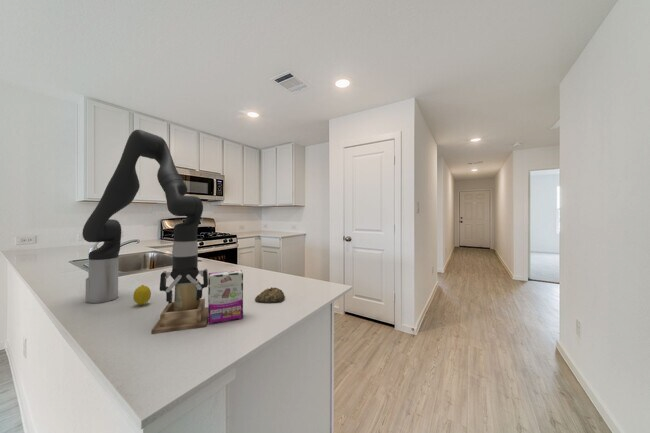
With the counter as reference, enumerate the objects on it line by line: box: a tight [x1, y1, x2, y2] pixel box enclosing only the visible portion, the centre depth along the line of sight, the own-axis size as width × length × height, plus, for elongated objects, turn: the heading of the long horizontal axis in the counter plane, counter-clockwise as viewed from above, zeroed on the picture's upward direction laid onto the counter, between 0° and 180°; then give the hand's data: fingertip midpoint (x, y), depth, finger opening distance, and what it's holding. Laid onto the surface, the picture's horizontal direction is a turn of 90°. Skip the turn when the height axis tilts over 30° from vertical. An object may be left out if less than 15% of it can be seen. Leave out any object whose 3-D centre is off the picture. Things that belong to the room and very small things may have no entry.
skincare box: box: [173, 282, 198, 312], centre depth 84 cm, size 6×4×12 cm
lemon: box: [132, 284, 152, 306], centre depth 96 cm, size 6×6×8 cm
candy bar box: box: [207, 269, 244, 325], centre depth 85 cm, size 11×5×16 cm, turn 117°
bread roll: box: [254, 287, 286, 304], centre depth 107 cm, size 13×12×5 cm
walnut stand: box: [150, 298, 208, 335], centre depth 83 cm, size 15×15×5 cm
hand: (184, 301), depth 83 cm, fingers open, 8 cm apart
